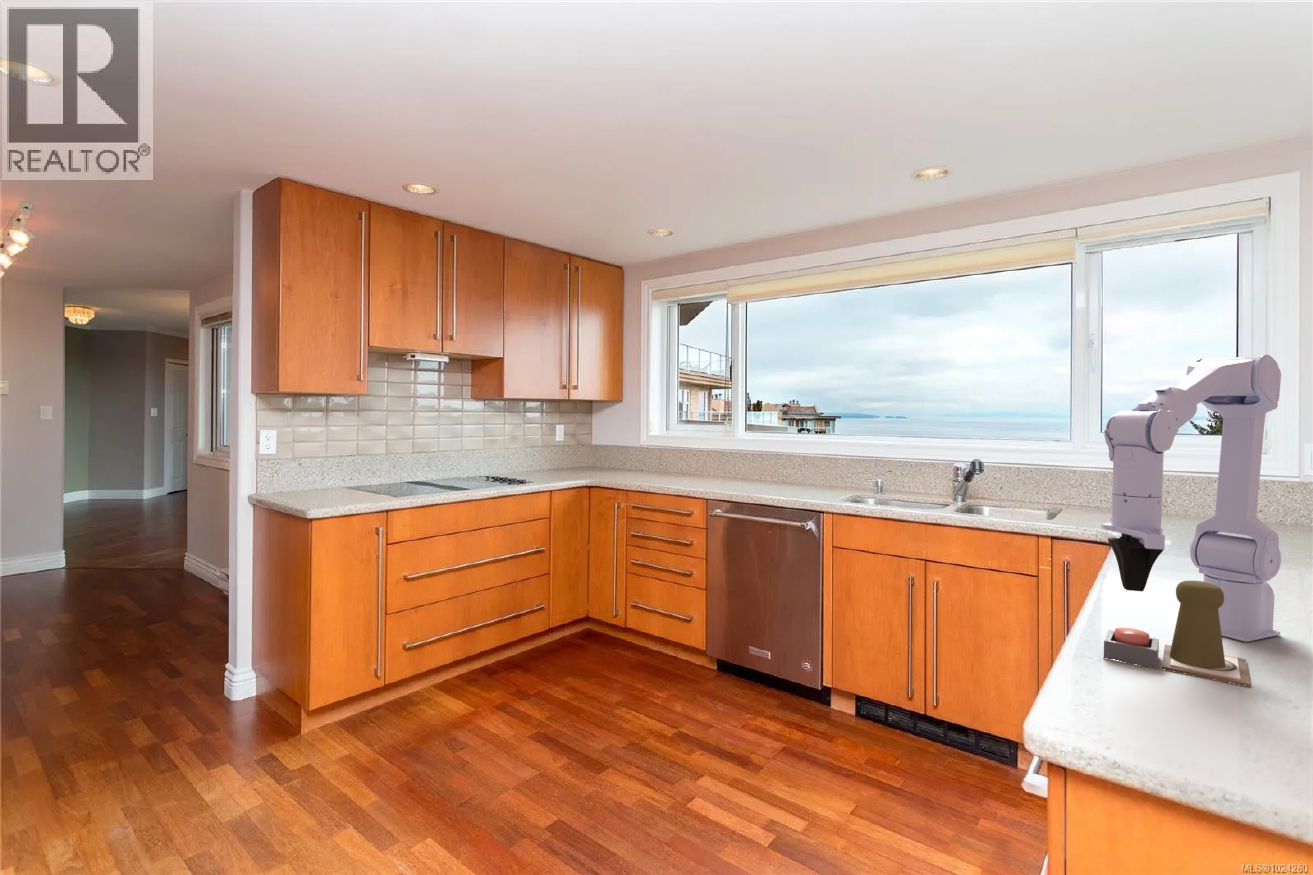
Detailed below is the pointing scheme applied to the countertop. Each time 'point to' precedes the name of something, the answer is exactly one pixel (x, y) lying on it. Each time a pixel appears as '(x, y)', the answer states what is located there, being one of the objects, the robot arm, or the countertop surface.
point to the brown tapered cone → (1198, 625)
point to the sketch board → (1230, 673)
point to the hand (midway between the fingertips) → (1133, 589)
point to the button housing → (1131, 651)
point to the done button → (1132, 636)
